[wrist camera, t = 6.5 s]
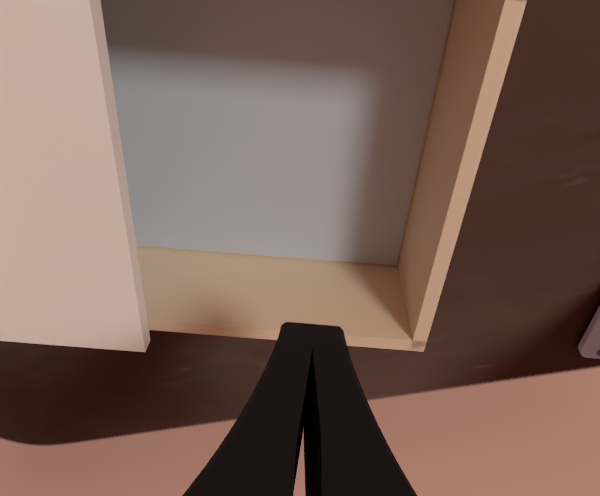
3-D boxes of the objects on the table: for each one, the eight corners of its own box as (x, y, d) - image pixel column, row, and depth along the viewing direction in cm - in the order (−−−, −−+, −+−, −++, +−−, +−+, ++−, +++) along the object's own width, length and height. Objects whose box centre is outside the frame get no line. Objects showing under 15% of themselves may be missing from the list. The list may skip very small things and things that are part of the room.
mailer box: (477, -40, 15) (533, -23, 11) (405, 269, 22) (423, 351, 18) (-38, -81, 15) (-173, -80, 11) (48, 241, 22) (-16, 317, 18)
